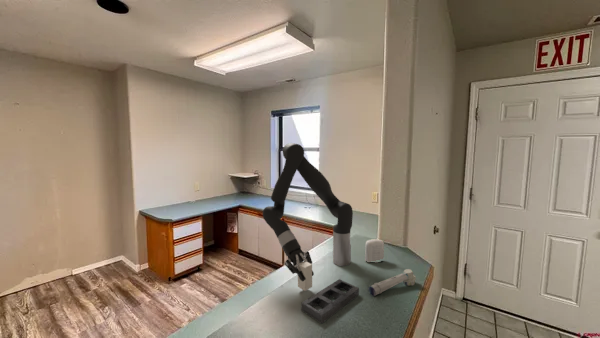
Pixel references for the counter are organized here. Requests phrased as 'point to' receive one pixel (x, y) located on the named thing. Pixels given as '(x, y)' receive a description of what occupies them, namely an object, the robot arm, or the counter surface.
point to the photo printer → (374, 250)
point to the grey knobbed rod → (393, 282)
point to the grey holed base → (327, 304)
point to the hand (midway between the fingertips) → (308, 278)
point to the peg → (307, 272)
